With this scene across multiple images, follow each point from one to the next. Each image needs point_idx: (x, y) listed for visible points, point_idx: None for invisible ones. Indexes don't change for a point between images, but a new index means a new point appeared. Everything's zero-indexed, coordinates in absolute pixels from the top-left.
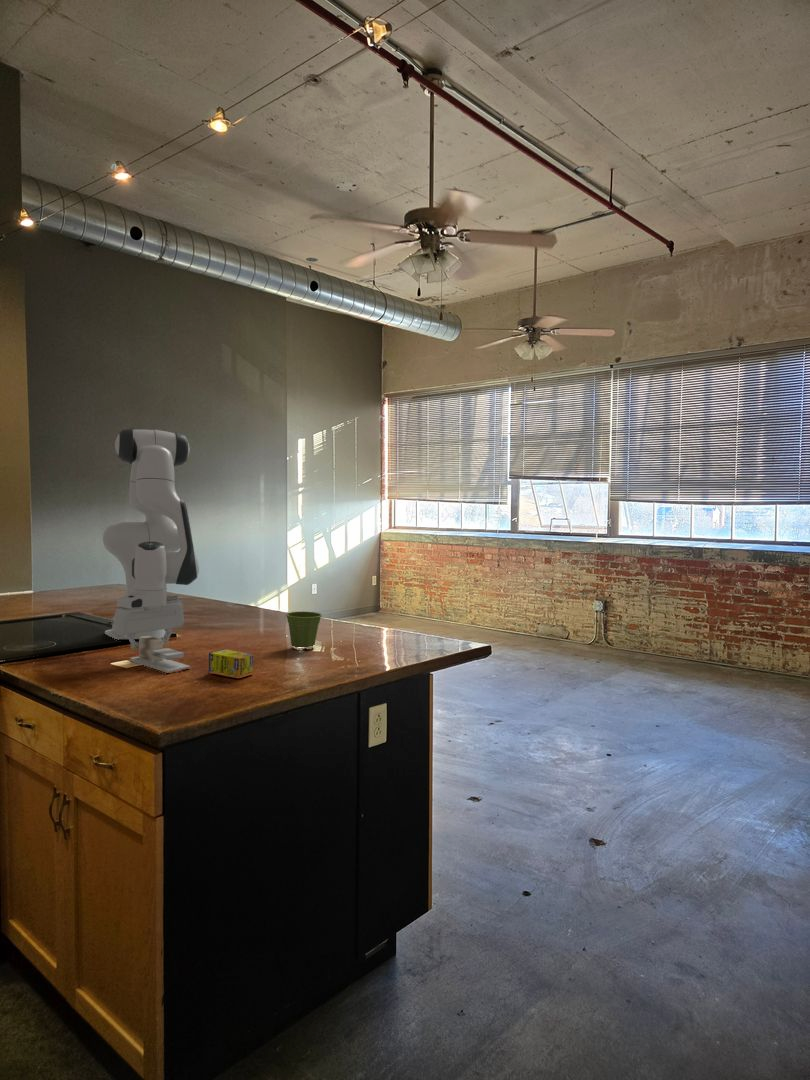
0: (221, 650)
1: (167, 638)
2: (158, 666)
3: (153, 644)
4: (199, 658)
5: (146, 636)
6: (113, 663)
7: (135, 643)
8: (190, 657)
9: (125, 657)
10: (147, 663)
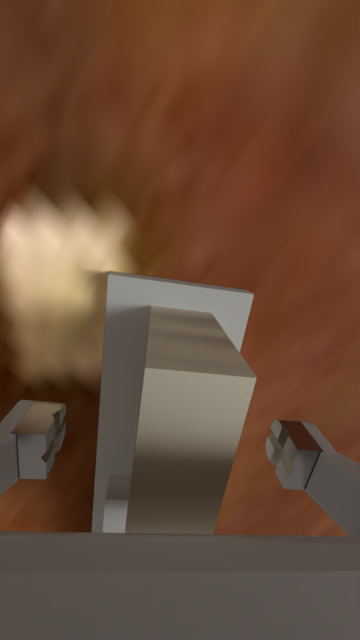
0: None
1: (308, 486)
2: (102, 502)
3: None
4: (340, 450)
5: (215, 395)
6: (14, 238)
7: (17, 473)
8: (339, 415)
9: (155, 153)
10: (100, 439)
